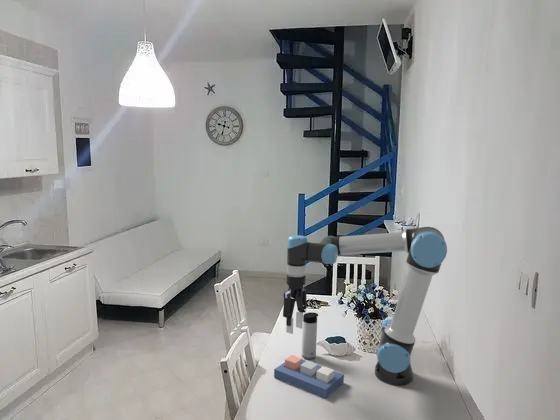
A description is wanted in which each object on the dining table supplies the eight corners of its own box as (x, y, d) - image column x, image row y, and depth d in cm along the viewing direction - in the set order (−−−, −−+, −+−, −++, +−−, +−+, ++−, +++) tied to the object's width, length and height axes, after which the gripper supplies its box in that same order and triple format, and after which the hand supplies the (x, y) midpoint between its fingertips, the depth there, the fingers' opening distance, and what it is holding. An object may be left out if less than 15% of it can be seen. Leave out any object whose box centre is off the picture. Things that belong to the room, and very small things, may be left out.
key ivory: (333, 378, 167) (334, 370, 166) (327, 384, 163) (327, 375, 162) (322, 374, 170) (323, 366, 169) (316, 379, 166) (316, 371, 165)
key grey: (317, 372, 171) (317, 364, 171) (310, 377, 167) (311, 369, 167) (306, 368, 174) (307, 360, 174) (300, 373, 170) (300, 365, 170)
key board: (343, 382, 170) (343, 374, 169) (325, 398, 159) (326, 389, 158) (293, 364, 184) (293, 356, 183) (274, 377, 173) (274, 369, 172)
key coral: (301, 366, 176) (302, 358, 175) (294, 371, 172) (295, 363, 171) (291, 362, 179) (292, 354, 178) (284, 367, 175) (285, 359, 174)
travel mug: (315, 360, 187) (317, 316, 185) (300, 358, 188) (302, 315, 186) (317, 354, 193) (319, 311, 191) (302, 352, 195) (304, 310, 192)
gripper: (301, 268, 180) (299, 320, 183) (274, 278, 164) (272, 335, 168) (316, 271, 175) (314, 325, 178) (290, 282, 160) (288, 340, 163)
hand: (294, 330), depth 173 cm, fingers open, 6 cm apart
